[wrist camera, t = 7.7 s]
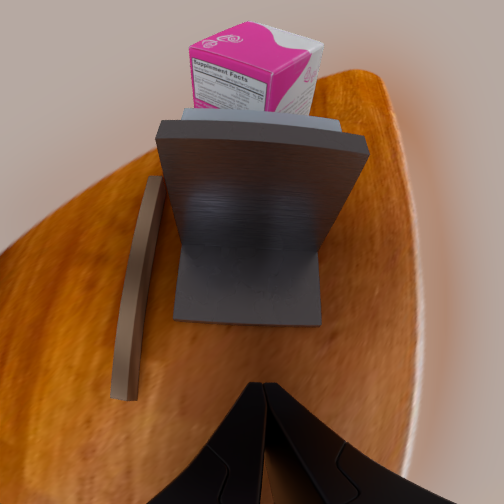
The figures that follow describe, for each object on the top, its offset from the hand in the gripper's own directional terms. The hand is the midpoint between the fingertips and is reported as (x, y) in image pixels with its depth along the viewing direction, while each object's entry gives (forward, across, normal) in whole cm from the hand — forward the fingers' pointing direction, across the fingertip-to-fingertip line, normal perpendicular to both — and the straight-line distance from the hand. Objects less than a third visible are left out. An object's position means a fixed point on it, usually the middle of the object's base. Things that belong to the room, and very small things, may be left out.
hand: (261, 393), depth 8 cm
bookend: (+12, 0, -1) cm, 12 cm away
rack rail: (+11, -7, -2) cm, 13 cm away
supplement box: (+18, 0, +5) cm, 19 cm away
